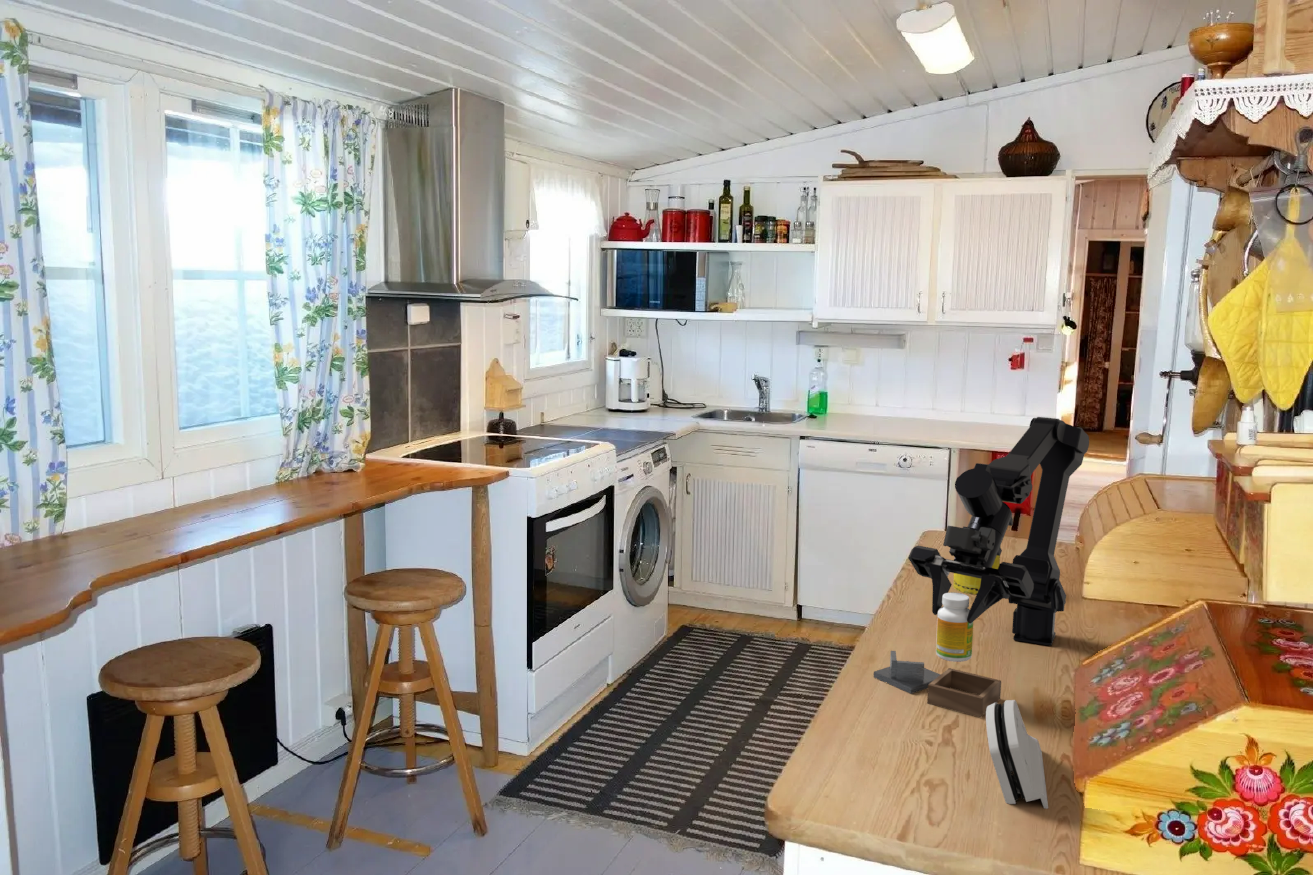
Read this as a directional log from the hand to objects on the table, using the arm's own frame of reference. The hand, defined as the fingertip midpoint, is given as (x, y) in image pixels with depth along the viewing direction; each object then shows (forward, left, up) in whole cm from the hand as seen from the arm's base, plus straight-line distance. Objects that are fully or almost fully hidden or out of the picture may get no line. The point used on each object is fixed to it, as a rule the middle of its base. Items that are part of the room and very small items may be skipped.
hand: (951, 617), depth 157 cm
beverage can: (+7, -59, -13) cm, 61 cm away
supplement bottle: (0, -1, -7) cm, 7 cm away
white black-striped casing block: (-13, +20, -14) cm, 28 cm away
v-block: (+7, -5, -13) cm, 16 cm away
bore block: (-2, 0, -13) cm, 13 cm away
